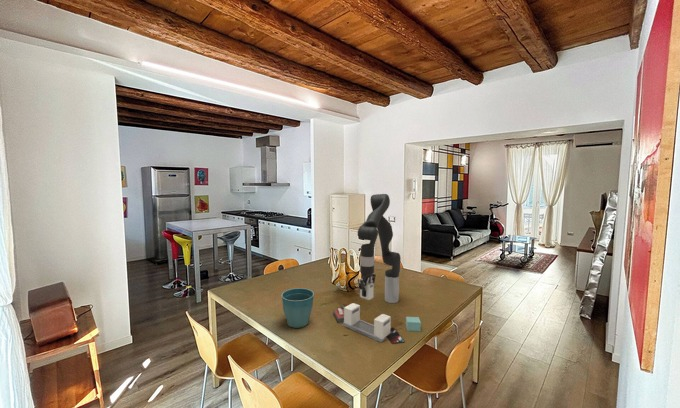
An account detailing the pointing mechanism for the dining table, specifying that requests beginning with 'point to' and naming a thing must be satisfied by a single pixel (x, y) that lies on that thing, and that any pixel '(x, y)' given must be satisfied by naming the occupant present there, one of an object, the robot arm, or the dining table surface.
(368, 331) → the grey rectangular tray
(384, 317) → the module
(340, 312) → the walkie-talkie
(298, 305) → the flower pot
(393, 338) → the smartphone
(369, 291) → the block
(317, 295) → the dining table surface
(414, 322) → the block
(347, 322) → the block
